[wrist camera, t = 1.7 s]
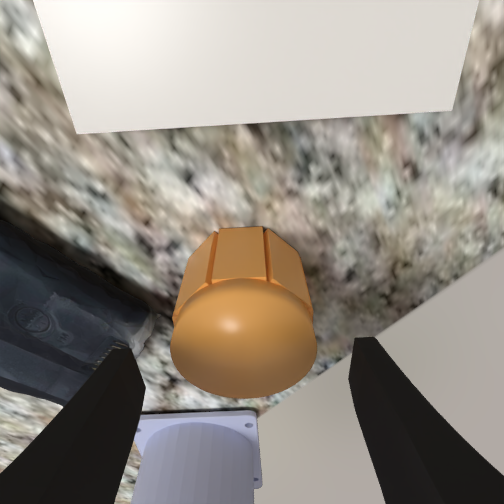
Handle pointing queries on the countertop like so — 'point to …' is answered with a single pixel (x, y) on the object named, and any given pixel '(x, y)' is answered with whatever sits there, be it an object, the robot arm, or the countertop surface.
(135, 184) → the countertop surface
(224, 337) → the orange acorn nut
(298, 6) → the white base plate
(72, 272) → the electronic device
